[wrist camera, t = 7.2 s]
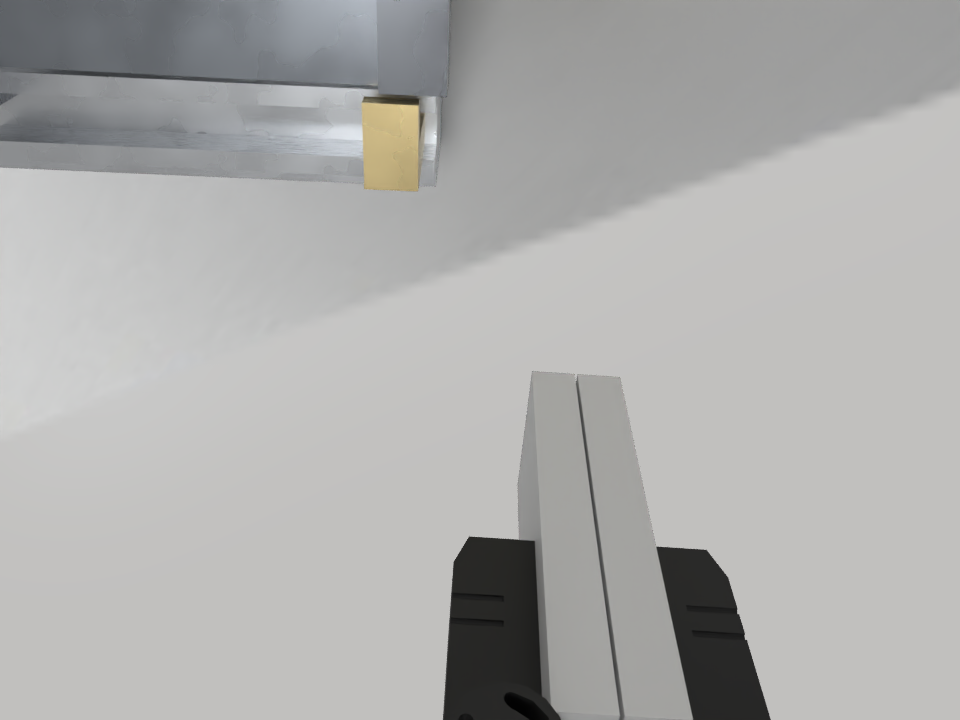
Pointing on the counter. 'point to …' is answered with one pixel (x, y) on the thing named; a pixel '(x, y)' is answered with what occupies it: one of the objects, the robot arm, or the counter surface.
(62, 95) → the heatsink block
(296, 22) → the dark grey flat bar
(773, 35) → the counter surface
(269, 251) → the counter surface
